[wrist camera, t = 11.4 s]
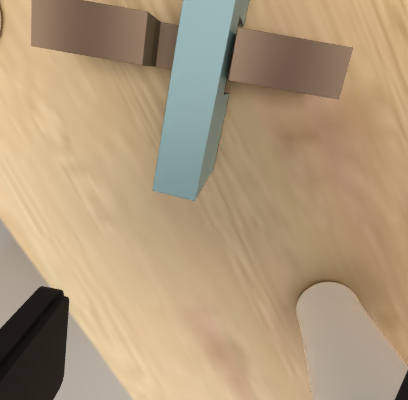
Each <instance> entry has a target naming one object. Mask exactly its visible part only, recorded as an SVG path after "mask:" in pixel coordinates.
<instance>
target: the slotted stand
mask: <svg viewBox="0 0 408 400" xmlns="http://www.w3.org/2000/svg"><path fill="white" fill-rule="evenodd" d="M178 29H179V25H174V24H168V23H162V22H160V21H159V20H157V19H156V18H155V17H154V16H152V15H151V14H150V13H149V12H146V11H141V10H135V9H129V8H124V7H118V6H112V5H106V4H101V3H95V2H89V1H83V0H32V30H31V46H34V47H40V48H46V49H51V50H57V51H63V52H69V53H74V54H80V55H86V56H92V57H97V58H103V59H109V60H115V61H120V62H126V63H132V64H138V65H144V66H155V67H161V68H167V69H172V66H173V60H174V54H175V48H176V41H177V35H178ZM352 50H353V48H352V47H346V46H341V45H335V44H329V43H324V42H318V41H312V40H306V39H301V38H295V37H289V36H284V35H278V34H272V33H266V32H261V31H255V30H249V29H244V28H238V29H237V32H236V36H235V41H234V46H233V51H232V55H231V60H230V65H229V70H228V74H227V79H228V80H229V81H235V82H241V83H247V84H252V85H258V86H264V87H270V88H275V89H281V90H287V91H293V92H298V93H304V94H310V95H316V96H321V97H327V98H333V99H339V97H340V93H341V90H342V86H343V83H344V79H345V75H346V72H347V68H348V65H349V61H350V57H351V54H352Z"/></svg>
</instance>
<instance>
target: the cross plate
mask: <svg viewBox="0 0 408 400" xmlns="http://www.w3.org/2000/svg"><path fill="white" fill-rule="evenodd" d="M248 4H249V0H183V4H182V10H181V17H180V23H179V29H178V35H177V41H176V48H175V54H174V60H173V66H172V73H171V79H170V85H169V91H168V98H167V104H166V110H165V116H164V123H163V129H162V135H161V141H160V147H159V154H158V160H157V166H156V172H155V179H154V185H153V191H156V192H160V193H164V194H168V195H172V196H176V197H180V198H185V199H189V200H193V201H195V200H196V198H197V196H198V194H199V193H200V191H201V189H202V188H203V186H204V184H205V182H206V181H207V179H208V177H209V176H210V174H211V172H212V170H213V168H214V163H215V158H216V154H217V149H218V144H219V140H220V135H221V130H222V126H223V121H224V116H225V112H226V107H227V102H228V98H229V93H225V92H224V89H225V84H226V79H227V74H228V70H229V65H230V60H231V55H232V51H233V46H234V41H235V36H236V31H237V27H238V25H241V26H244V23H245V18H246V14H247V9H248Z"/></svg>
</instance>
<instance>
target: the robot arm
mask: <svg viewBox="0 0 408 400" xmlns="http://www.w3.org/2000/svg"><path fill="white" fill-rule="evenodd" d="M68 311H69V298H68V297H66V296H64V293H63V291H62V290H59V289H54V288H49V287H43V286H42V287H40V288H38V289H37V290H36V291H35V293H34V294H33V295H32V296H31V297H30V298H29V299H28V300H27V301H26V302H25V303H24V304H23V305H22V306H21V307H20V308H19V309H18V310H17V312H16V313H15V314H14V315H13V316H12V317H11V318H10V319H9V320H8V321H7V322H6V323H5V325H4V326H2V327H1V329H0V400H53V399H54V397H55V396H56V394H57V392H58V390H59V388H60V386H61V384H62V381H63V377H64V367H65V353H66V338H67V325H68ZM395 400H408V371H407V373H406V375H405V377H404V380H403V382H402V384H401V386H400V389H399V391H398V393H397V395H396V398H395Z"/></svg>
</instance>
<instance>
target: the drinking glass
mask: <svg viewBox="0 0 408 400" xmlns="http://www.w3.org/2000/svg"><path fill="white" fill-rule="evenodd" d="M296 316H297V320H298V323H299V327H300V331H301V336H302V342H303V348H304V353H305V359H306V365H307V371H308V377H309V384H310V390H311V396H312V400H395V398H396V395H397V393H398V391H399V389H400V386H401V384H402V382H403V380H404V377H405V375H406V373H407V371H408V365H407V364H406V362H405V361H404V360H403V359H402V357H401V356H400V355H399V353H398V352H397V351H396V350H395V348H394V347H393V346H392V344H391V343H390V342H389V340H388V339H387V338H386V337H385V335H384V334H383V333H382V331H381V330H380V329H379V327H378V326H377V325H376V324H375V322H374V321H373V320H372V318H371V317H370V316H369V314H368V313H367V312H366V310H365V309H364V308H363V306H362V304H361V303H360V301H359V299H358V298H357V296H356V295H355V294H354V292H353V291H352V290H351V289H349V288H348V287H346V286H345V285H342V284H340V283H336V282H321V283H317V284H315V285H313V286H311V287H309V288H308V289H306V290H305V291H304V292H303V293H302V295H301V296H300V298H299V299H298V302H297V305H296Z"/></svg>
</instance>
